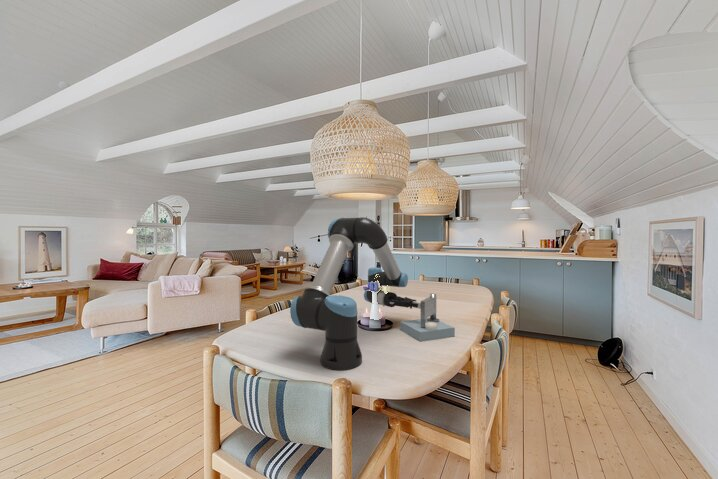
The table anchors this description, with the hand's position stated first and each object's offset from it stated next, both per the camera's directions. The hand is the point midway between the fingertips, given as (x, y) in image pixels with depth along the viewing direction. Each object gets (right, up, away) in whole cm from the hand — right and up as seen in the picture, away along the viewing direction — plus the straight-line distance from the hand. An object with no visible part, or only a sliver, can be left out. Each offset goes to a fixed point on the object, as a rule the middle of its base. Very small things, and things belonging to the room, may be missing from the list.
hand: (424, 306), depth 145 cm
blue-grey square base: (+1, -12, 0) cm, 12 cm away
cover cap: (+1, -8, -7) cm, 11 cm away
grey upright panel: (+2, -8, +1) cm, 8 cm away
